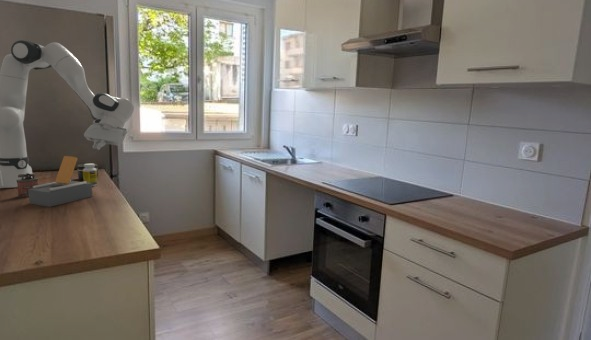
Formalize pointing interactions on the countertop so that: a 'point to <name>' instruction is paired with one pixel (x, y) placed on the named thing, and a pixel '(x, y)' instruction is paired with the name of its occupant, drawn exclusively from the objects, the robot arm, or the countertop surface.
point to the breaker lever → (66, 170)
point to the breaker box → (59, 193)
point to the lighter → (26, 184)
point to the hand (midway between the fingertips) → (95, 148)
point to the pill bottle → (90, 174)
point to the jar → (80, 170)
